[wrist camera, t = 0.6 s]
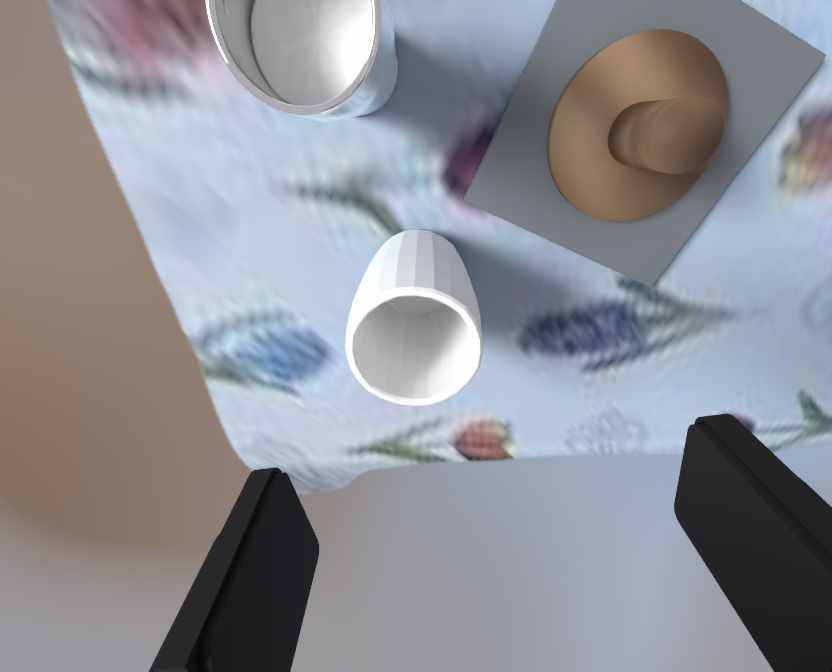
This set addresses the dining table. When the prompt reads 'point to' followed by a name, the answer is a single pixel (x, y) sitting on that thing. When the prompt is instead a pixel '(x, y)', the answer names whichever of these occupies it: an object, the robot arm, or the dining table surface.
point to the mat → (556, 65)
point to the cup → (415, 322)
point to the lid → (637, 124)
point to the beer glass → (309, 53)
